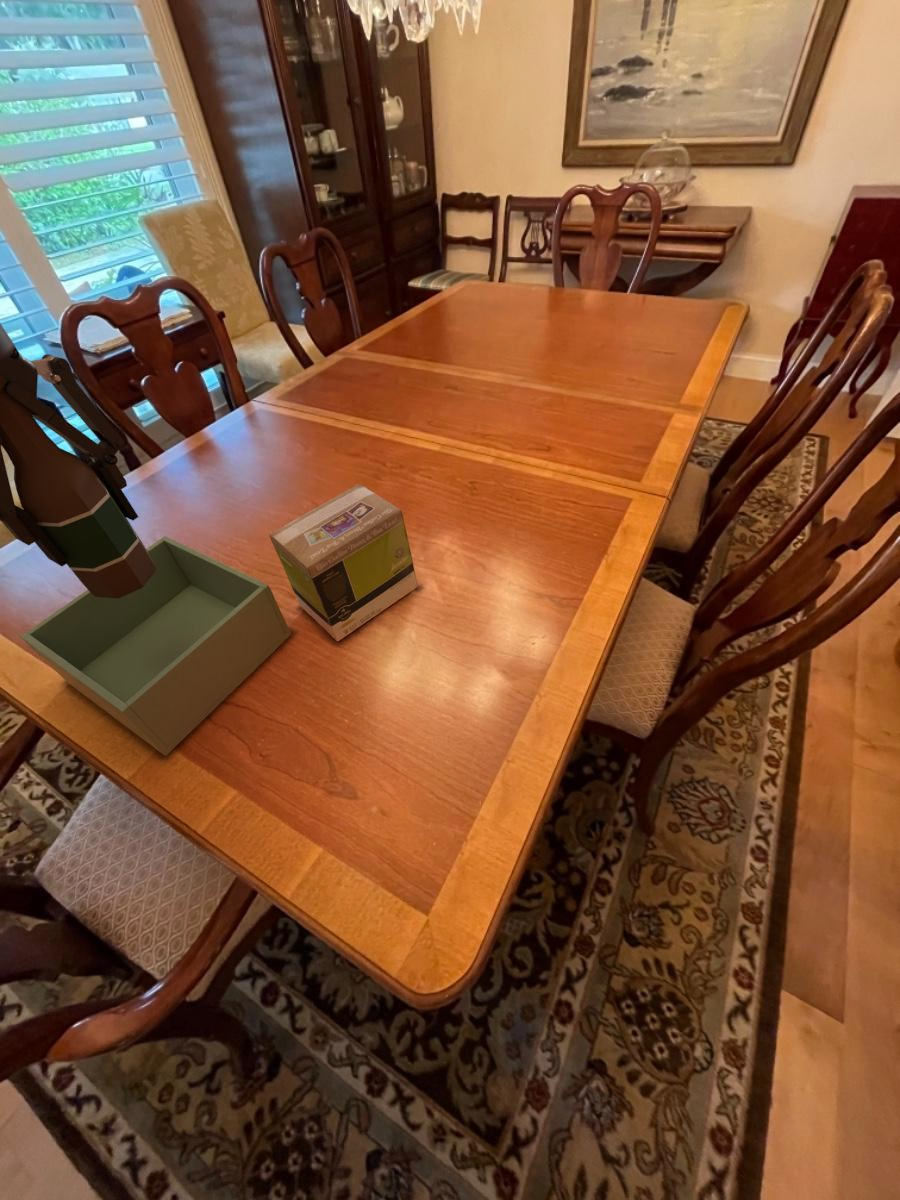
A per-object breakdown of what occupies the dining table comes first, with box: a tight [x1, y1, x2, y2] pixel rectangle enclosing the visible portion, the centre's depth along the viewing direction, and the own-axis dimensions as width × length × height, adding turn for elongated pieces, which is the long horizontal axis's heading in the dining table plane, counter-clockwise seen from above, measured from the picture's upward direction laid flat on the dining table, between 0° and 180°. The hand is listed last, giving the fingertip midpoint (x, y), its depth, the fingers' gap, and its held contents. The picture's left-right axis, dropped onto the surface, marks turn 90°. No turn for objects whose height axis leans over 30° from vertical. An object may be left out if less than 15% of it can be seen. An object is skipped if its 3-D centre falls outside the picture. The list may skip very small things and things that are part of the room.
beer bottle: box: [0, 375, 156, 599], centre depth 54 cm, size 8×8×24 cm
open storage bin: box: [19, 535, 292, 757], centre depth 71 cm, size 22×22×10 cm
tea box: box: [268, 483, 419, 642], centre depth 74 cm, size 15×10×15 cm
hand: (94, 536), depth 58 cm, fingers closed on beer bottle, 8 cm apart
